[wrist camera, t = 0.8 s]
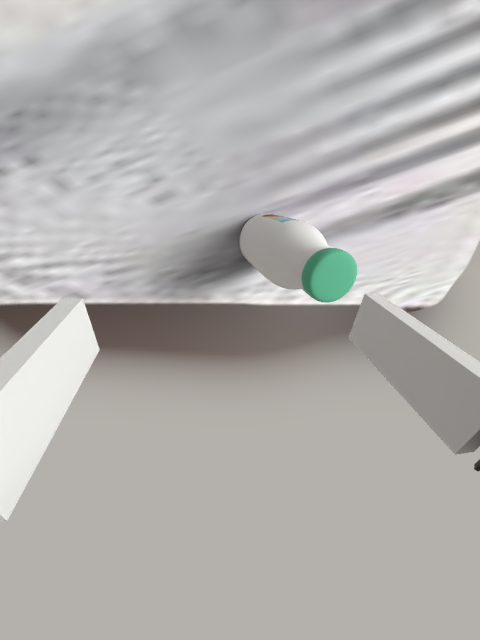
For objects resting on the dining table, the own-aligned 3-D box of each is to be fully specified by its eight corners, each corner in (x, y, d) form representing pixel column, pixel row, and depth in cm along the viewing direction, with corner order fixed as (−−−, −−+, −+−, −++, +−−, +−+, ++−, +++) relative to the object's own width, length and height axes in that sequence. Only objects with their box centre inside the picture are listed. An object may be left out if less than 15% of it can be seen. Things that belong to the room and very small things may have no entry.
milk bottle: (256, 273, 39) (316, 334, 22) (228, 235, 36) (274, 273, 18) (293, 243, 39) (386, 283, 21) (269, 201, 35) (357, 207, 17)
